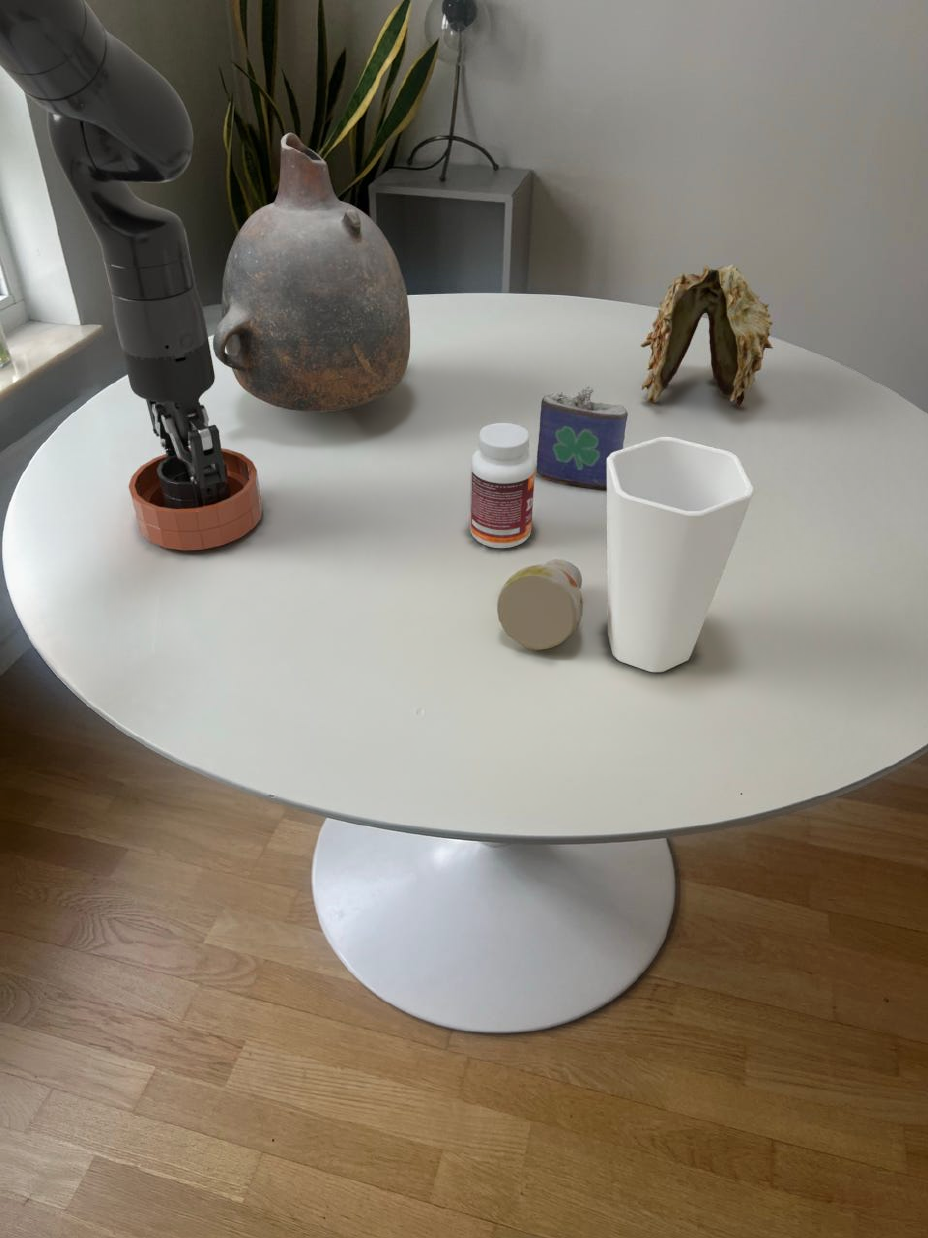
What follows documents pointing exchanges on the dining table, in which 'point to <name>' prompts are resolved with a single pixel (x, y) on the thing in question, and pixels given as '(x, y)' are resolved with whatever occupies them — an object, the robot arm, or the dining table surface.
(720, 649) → the dining table surface
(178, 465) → the black bowl
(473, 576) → the dining table surface
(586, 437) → the flask
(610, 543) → the cup
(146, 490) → the terracotta bowl
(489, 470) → the pill bottle
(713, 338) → the seashell
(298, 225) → the jug
